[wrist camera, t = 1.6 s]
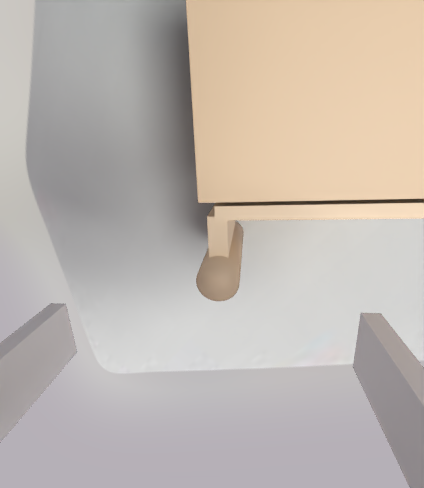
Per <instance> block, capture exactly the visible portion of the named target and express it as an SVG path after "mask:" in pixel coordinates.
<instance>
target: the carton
mask: <svg viewBox="0 0 424 488" xmlns="http://www.w3.org/2000/svg"><path fill="white" fill-rule="evenodd" d="M186 9H187V26H188V43H189V59H190V76H191V92H192V109H193V126H194V142H195V159H196V175H197V192H198V203H220V202H272V201H324V200H377V199H424V0H186Z"/></svg>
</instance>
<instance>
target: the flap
mask: <svg viewBox="0 0 424 488" xmlns="http://www.w3.org/2000/svg"><path fill="white" fill-rule="evenodd" d="M423 218H424V199H377V200H324V201H272V202H220V203H215V204H214V206H213V207H212V209H211V211H210V212H209V214H208V216H207V227H208V250H207V252H206V255H205V257H204V259H203V262H202V264H201V267H200V269H199V272H198V274H197V278H196V284H197V287H198V289H199V291H200V292H201V294H202V295H203V296H205V297H206V298H208V299H210V300H213V301H225V300H228V299H230V298H231V297H233V296H234V295H235V294H236V292H237V290H238V288H239V281H240V269H241V257H242V244H243V229H242V227H241V225H240V224H239V223H238V222H236V221H235V220H326V219H423Z"/></svg>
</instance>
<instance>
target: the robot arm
mask: <svg viewBox="0 0 424 488" xmlns="http://www.w3.org/2000/svg"><path fill="white" fill-rule="evenodd" d="M76 353H77V349H76V345H75V341H74V336H73V332H72V328H71V324H70V320H69V316H68V311H67V307H66V304H53V303H51V304H50V305H48V306H47V307H46V308H44V309H43V310H42V311H41V312H39V313H38V314H37V315H36V316H34V317H33V318H32V319H30V320H29V321H28V322H27V323H26V324H24V325H23V326H22V327H20V328H19V329H18V330H16V331H15V332H14V333H12V334H11V335H10V336H9V337H7V338H6V339H5V340H4V341H2V342H1V343H0V443H1V441H2V440H3V439H4V438H5V437H6V436H7V434H8V433H9V432H10V431H11V430H12V428H13V427H14V426H15V425H16V424H17V423H18V421H19V420H20V419H21V418H22V417H23V415H24V414H25V413H26V412H27V410H28V409H29V408H30V407H31V406H32V405H33V404H34V402H35V401H36V400H37V399H38V398H39V397H40V395H41V394H42V393H43V392H44V391H45V389H46V388H47V387H48V386H49V385H50V384H51V382H52V381H53V380H54V379H55V378H56V377H57V375H58V374H59V373H60V372H61V370H62V369H63V368H64V367H65V366H66V365H67V364H68V362H69V361H70V360H71V359H72V358H73V356H74V355H75V354H76ZM353 368H354V370H355V373H356V375H357V377H358V379H359V381H360V383H361V385H362V387H363V390H364V392H365V394H366V396H367V398H368V400H369V402H370V404H371V407H372V409H373V411H374V413H375V415H376V417H377V419H378V421H379V423H380V425H381V427H382V430H383V432H384V434H385V436H386V438H387V440H388V443H389V445H390V447H391V449H392V451H393V453H394V455H395V457H396V459H397V461H398V464H399V466H400V468H401V470H402V472H403V474H404V476H405V478H406V481H407V483H408V485H409V487H410V488H424V367H423V366H422V365H421V364H420V362H419V361H418V360H417V359H416V357H415V356H414V355H413V353H412V352H411V351H410V350H409V348H408V347H407V346H406V345H405V343H404V342H403V341H402V340H401V338H400V337H399V336H398V335H397V333H396V332H395V331H394V330H393V328H392V327H391V326H390V325H389V323H388V322H387V321H386V320H385V318H384V317H383V316H382V314H381V313H361V314H360V321H359V328H358V335H357V342H356V349H355V356H354V363H353Z"/></svg>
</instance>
